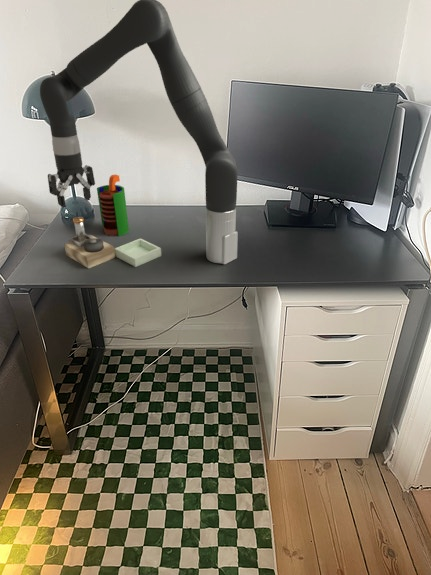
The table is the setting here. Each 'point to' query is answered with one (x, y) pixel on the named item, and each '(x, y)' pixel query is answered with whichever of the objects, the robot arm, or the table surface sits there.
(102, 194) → the motor
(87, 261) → the pulley block
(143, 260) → the tray
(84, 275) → the table surface
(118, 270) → the table surface
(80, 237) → the pin
